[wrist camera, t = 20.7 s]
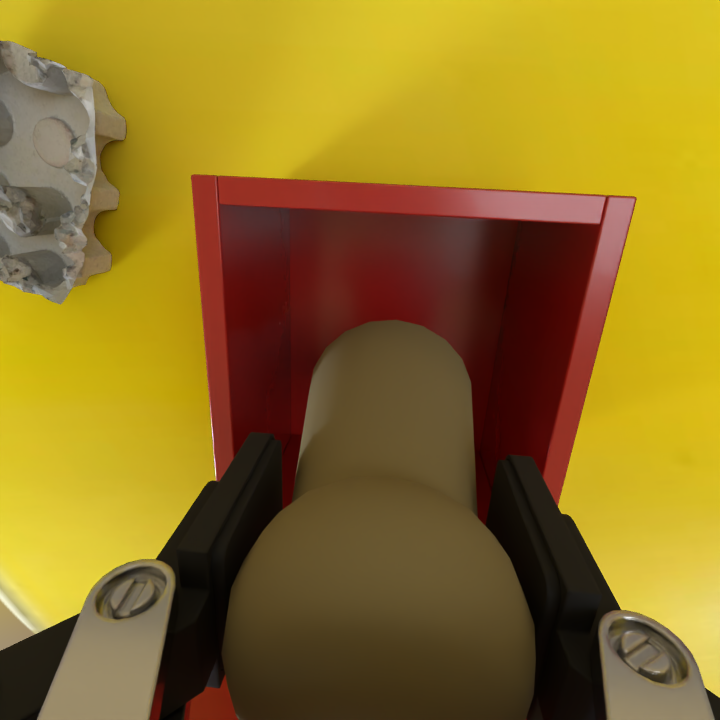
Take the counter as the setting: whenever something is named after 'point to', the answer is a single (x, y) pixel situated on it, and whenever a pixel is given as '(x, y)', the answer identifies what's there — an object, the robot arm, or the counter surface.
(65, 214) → the egg carton
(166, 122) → the counter surface
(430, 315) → the cabinet
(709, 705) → the robot arm
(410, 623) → the cork
